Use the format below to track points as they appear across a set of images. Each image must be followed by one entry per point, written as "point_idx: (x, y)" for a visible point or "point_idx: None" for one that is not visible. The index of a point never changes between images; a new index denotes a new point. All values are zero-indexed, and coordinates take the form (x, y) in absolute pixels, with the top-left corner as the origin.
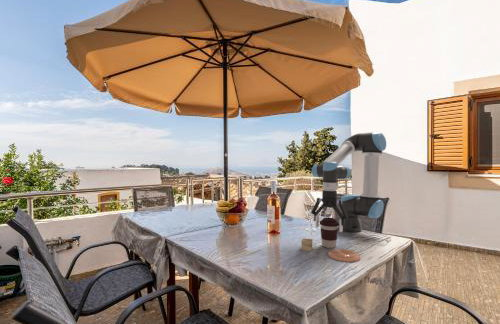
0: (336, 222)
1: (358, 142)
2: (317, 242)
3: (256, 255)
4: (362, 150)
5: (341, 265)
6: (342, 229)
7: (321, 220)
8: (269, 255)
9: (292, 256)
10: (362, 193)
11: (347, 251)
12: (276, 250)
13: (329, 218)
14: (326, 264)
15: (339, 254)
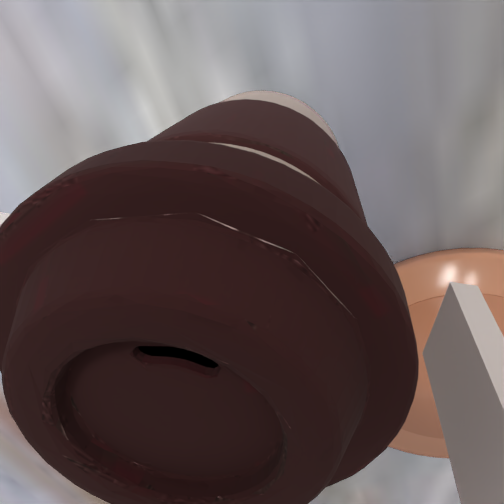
0: (366, 397)
1: None
2: (107, 99)
3: (6, 499)
4: None
5: (444, 489)
6: (484, 316)
7: (2, 345)
8: (46, 485)
9: None
10: None
11: (489, 307)
12: (13, 422)
13: (125, 339)
14: (355, 499)
15: (419, 394)
